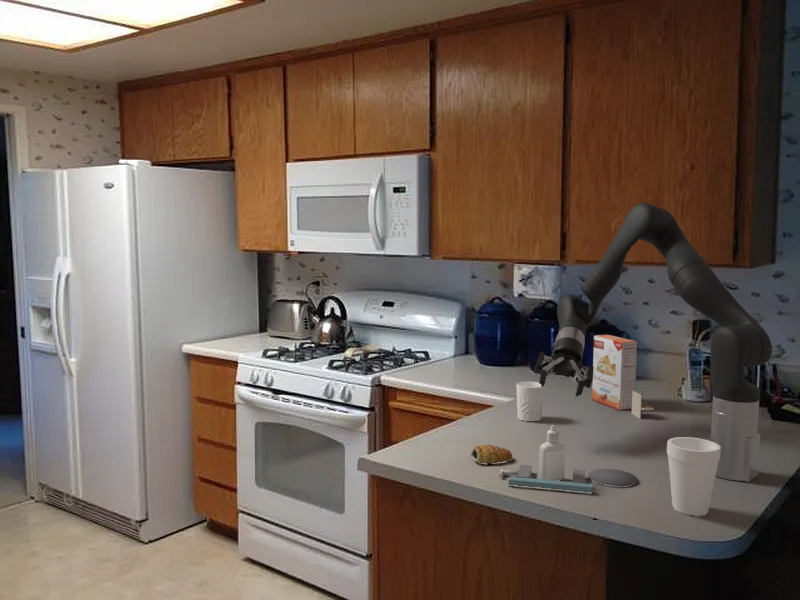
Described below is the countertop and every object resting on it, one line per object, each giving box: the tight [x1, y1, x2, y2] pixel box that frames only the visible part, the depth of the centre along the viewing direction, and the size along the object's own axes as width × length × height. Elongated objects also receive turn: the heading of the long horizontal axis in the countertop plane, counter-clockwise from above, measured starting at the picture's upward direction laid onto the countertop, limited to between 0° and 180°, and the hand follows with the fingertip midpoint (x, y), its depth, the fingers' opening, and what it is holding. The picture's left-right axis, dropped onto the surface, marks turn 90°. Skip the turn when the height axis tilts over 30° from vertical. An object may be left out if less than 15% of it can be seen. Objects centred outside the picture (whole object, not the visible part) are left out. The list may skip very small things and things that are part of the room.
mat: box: [588, 468, 638, 486], centre depth 157 cm, size 10×10×1 cm
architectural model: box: [631, 390, 655, 420], centre depth 210 cm, size 3×7×7 cm, turn 8°
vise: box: [498, 464, 594, 494], centre depth 155 cm, size 19×10×2 cm, turn 76°
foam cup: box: [666, 436, 721, 517], centre depth 140 cm, size 10×9×13 cm
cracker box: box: [591, 334, 638, 411], centre depth 223 cm, size 14×6×21 cm, turn 21°
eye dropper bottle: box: [537, 424, 566, 481], centre depth 156 cm, size 4×6×12 cm
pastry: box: [470, 444, 513, 463], centre depth 169 cm, size 9×7×4 cm
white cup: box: [515, 381, 546, 422], centre depth 206 cm, size 8×8×10 cm
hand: (560, 389), depth 177 cm, fingers open, 8 cm apart
